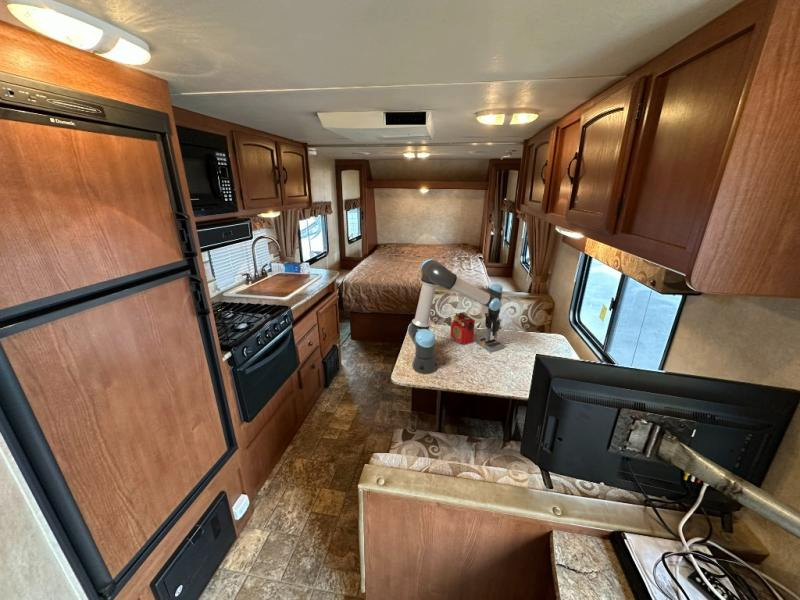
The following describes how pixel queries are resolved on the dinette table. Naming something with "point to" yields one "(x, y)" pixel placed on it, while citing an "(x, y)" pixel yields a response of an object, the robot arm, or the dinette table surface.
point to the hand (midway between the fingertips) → (490, 338)
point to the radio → (462, 328)
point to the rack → (490, 344)
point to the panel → (489, 334)
